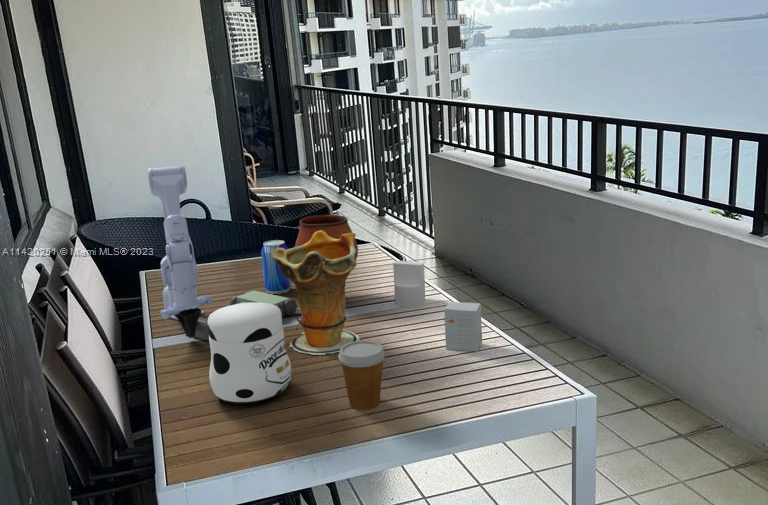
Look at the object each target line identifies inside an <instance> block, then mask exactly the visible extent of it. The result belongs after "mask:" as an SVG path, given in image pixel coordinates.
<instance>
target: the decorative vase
mask: <svg viewBox="0 0 768 505" xmlns="http://www.w3.org/2000/svg"><path fill="white" fill-rule="evenodd" d="M356 235H357V234H356V233H355V232H352V233H348V234H343V235H341V237H340V239H334V238H332V237H329V236H328V235H327V233H326V232H324V231H322V230H320V231H317V232H315V233H314V234H313V236H312V238H311V239H310V241H309V242H307V243H305V244H303V245H302V246H297V247H295V246H294V247H292V248H288V249H287V250H285V249H284V248H277V249H275V250H274V251H273V253H272V257H273V259H275V260H276V261H277V264H278V266H279V268H280V270H281V272H282V273H283V274H284V276H286V277H287V278H288V279H290V280H291V283H293V284H294V286H295V290H296V293H297V299H298V305H299V309H300V313H301V318H300V319H299V321H298V323H297V327H296V328H295V330H297V329H298V325H301V326H302V328H303V332H301V334H300V335H298V336H297V337H295V334H294V337H295V338H294V337H293V340H291V342H289V345H288V347H291V348H293V351H296V352H298V353H303V354H307V355H308V354H310V355H313V356H314V355H316V356H317V355H318V356H322V355H323V356H325V355H326V354H332V355H333V354H335V353H336V354H337V353H340V349H341V347H342V346H344V345H345V344H348V343H351V342H355V341H361V338H360V336H359V335H358V334H356V333H354V332H352V331H349V330H345V329H344V328H345V322H346V320H347V316H346V315H345V312H346V302H347V299H346V289H345V288H346V281H347V278H348V276H349V275H350V273H351V272H352V271H353V270H354V269H355V268H356V267H357V260H356V261H355V257H356V256H355V255H356V249H355V245H354V239H356V237H357V236H356ZM306 340H307V341H306ZM305 342H307V344H308V347H307V345H305V344H304V343H305ZM319 348H324V349H319Z"/></svg>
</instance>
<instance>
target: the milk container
mask: <svg viewBox="0 0 768 505" xmlns="http://www.w3.org/2000/svg"><path fill="white" fill-rule="evenodd" d="M207 319H208V333H209V340H208V342H209V348H210V365H209V371H208V372H209V373H208V374H209V376H208V378H209V383H210V387H211V389H212V392H213V393H214V395H215V396H216V398H218V399H220V400H221V401H223V402H226V403H231V404H233V405H234V404H235V405H250V404H256V403H257V404H258V403H262V402H265V401H268V400H272V399H274V398H275V397H278V396H279V395H281V394H282V393H283V392H284V391H286V390H287V388H288V387H289V385H290V383H291V377H292V364H291V360H290V357H289V355H288V352H287V349H286V345H285V331H284V327H283V325H284V323H283V322H284V320H283V318H282V314H281V310H280V309H279V308H278V307H277V306H275V305H273V304H269V303H261V302H258V303H242V304H235V305H231V306H230V305H226V306H224V307H221V308H219V309H216V310H215V311H213V312H212V313H210V315H209V316H208V317H207Z"/></svg>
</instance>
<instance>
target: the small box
mask: <svg viewBox="0 0 768 505" xmlns="http://www.w3.org/2000/svg"><path fill="white" fill-rule="evenodd" d="M443 312H444V313H443V314H444V333H445V334H444V335H445V338H444V340H445V349H446V350H448V351H449V350H450V351H451V350H452V351H462V352H463V351H465V352H476V353H478V352H479V350H480V348H481V345H482V344H483V330H482V328H483V327H482V326H483V325H482V304H481V303H480V302H479V303H477V302H461V301H460V302H459V301H458V302H457V301H449V302H448V304H447V305H446V306H445V308H444V311H443Z"/></svg>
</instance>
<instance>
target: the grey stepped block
mask: <svg viewBox="0 0 768 505" xmlns="http://www.w3.org/2000/svg"><path fill="white" fill-rule="evenodd" d="M193 338H196V339H197V338H198V339H200V340H203V341H209V333H208V318H206V317H204V316H203V317H202V316H199V319H198V322H197V326H196V332H195V336H194V337H193Z"/></svg>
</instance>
